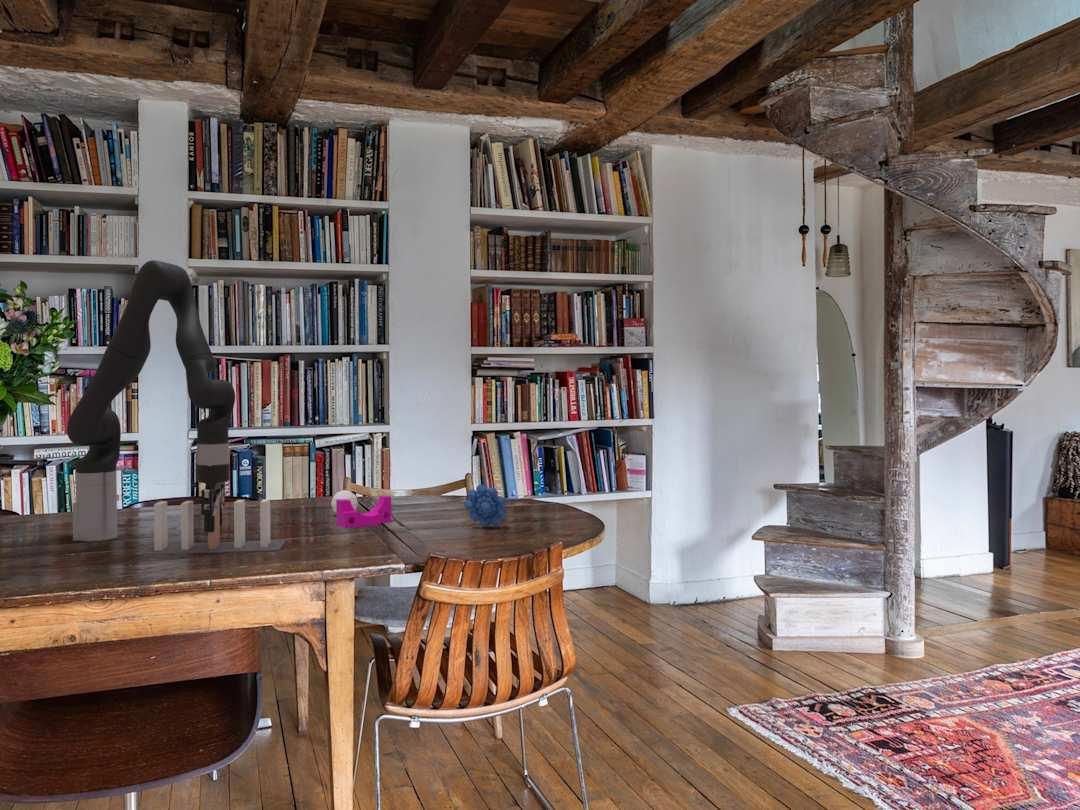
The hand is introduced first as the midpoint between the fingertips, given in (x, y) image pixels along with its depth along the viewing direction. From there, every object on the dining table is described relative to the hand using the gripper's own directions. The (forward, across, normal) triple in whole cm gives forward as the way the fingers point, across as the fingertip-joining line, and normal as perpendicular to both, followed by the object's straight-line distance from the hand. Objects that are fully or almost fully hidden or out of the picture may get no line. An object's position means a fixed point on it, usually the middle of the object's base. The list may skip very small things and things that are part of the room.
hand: (213, 529), depth 198 cm
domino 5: (+4, 0, +12) cm, 13 cm away
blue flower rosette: (+5, -18, +68) cm, 70 cm away
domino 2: (+4, 0, -6) cm, 7 cm away
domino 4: (+4, 0, +6) cm, 7 cm away
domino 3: (+4, 0, 0) cm, 4 cm away
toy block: (+5, -29, +35) cm, 46 cm away
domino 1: (+4, 0, -12) cm, 13 cm away
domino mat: (+5, 0, 0) cm, 5 cm away
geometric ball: (+5, -45, +28) cm, 53 cm away
